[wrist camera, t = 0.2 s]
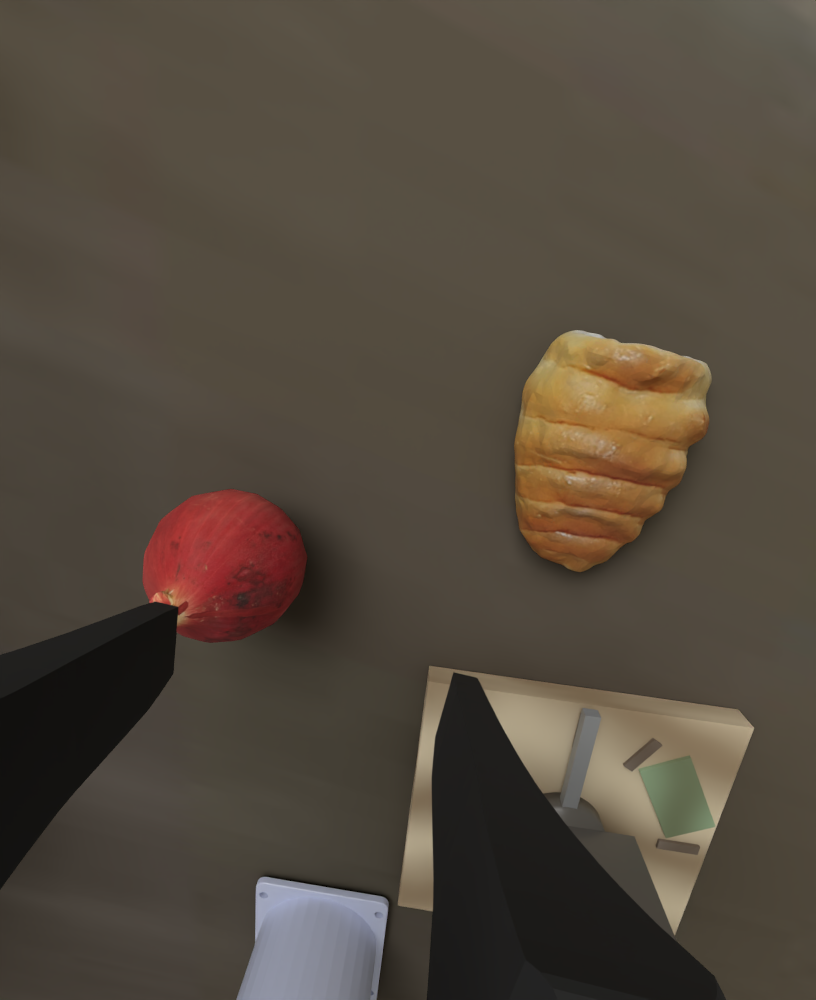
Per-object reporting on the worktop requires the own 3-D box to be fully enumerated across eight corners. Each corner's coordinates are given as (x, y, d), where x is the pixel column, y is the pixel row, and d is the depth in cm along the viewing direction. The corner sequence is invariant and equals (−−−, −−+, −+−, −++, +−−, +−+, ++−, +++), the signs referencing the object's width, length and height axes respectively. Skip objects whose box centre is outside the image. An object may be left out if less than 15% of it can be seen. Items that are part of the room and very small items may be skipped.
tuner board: (658, 925, 26) (669, 954, 25) (400, 882, 27) (397, 908, 26) (738, 709, 22) (756, 730, 21) (429, 665, 23) (428, 683, 21)
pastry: (624, 569, 21) (661, 611, 17) (479, 536, 21) (486, 571, 17) (703, 358, 18) (766, 354, 15) (536, 323, 18) (557, 311, 15)
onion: (334, 487, 21) (267, 555, 13) (316, 598, 22) (248, 717, 15) (210, 460, 21) (72, 512, 13) (202, 572, 22) (74, 677, 15)
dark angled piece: (610, 867, 24) (654, 999, 19) (487, 848, 24) (498, 972, 19) (658, 714, 21) (723, 820, 16) (519, 694, 21) (541, 792, 16)
